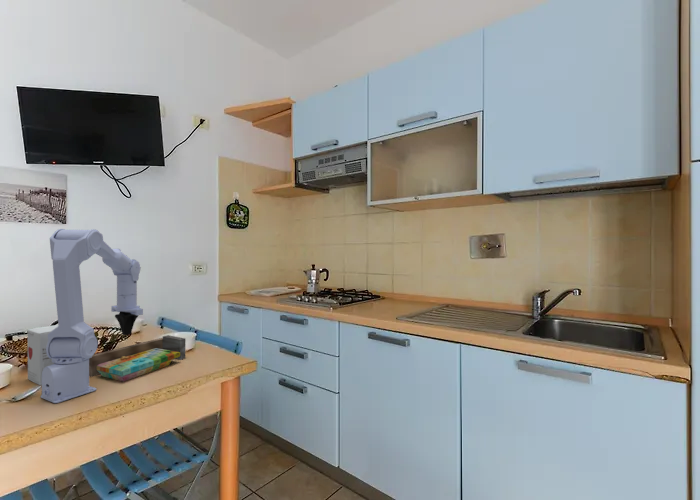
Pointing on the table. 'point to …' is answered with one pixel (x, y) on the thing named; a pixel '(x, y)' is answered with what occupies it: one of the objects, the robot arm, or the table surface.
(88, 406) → the table surface
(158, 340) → the shelf corner
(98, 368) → the puzzle game
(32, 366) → the supplement box
